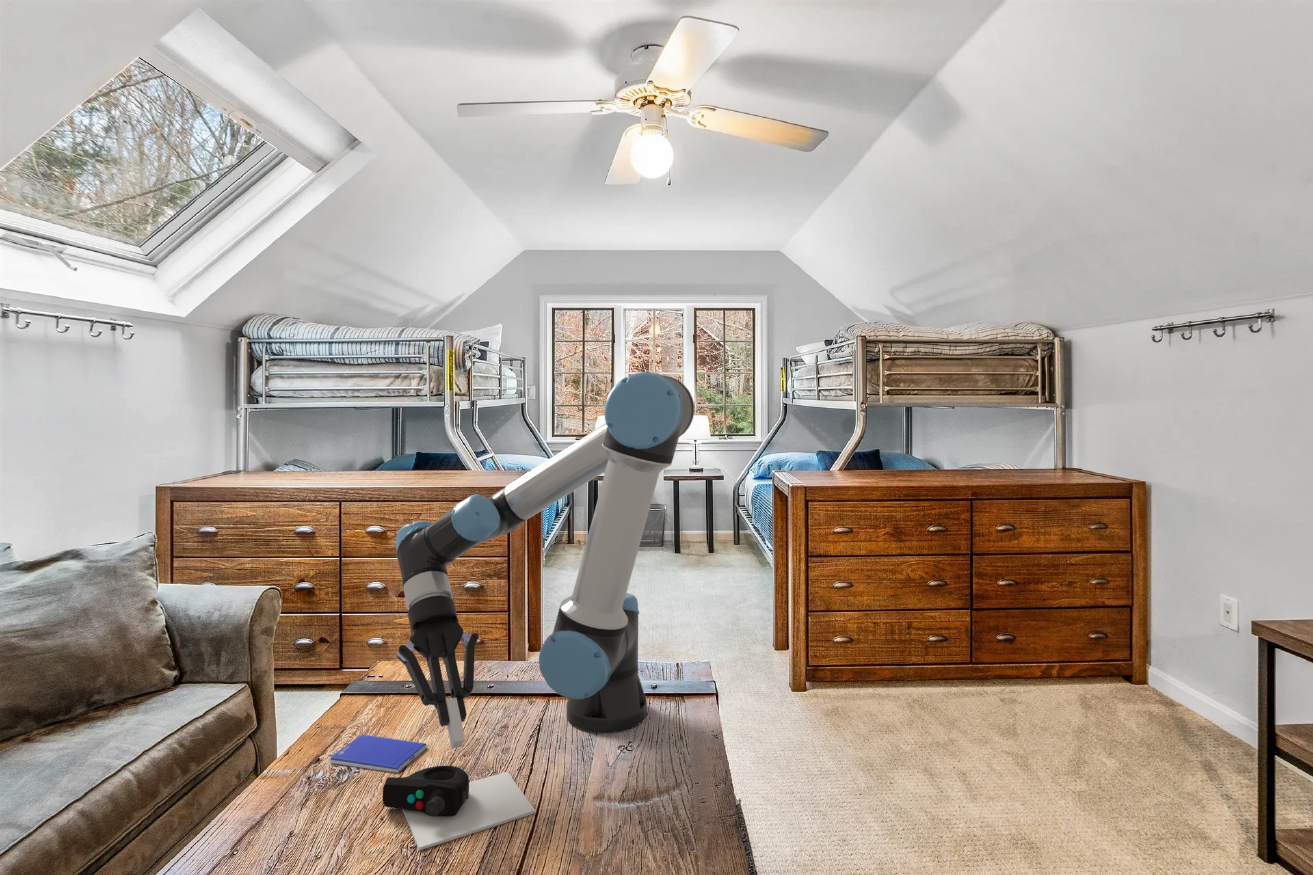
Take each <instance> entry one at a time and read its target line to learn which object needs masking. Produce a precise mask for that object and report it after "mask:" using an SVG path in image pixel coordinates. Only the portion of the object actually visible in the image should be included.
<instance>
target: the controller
mask: <svg viewBox="0 0 1313 875" xmlns="http://www.w3.org/2000/svg"><path fill="white" fill-rule="evenodd" d="M469 778H470V777H469V775H468V773H467V771H466V770H464V769H462V768H460V767H458V766H454V765H438V766H437V765H436V766H430V767H426V768H422V769H420V770H417V771H415V772H413V773H412V774H410V775H407V776H404V777H403V776H402V777H395V776H394V777H392V776H391V777H390V776H388V777H387V778H386V780H385V782H384V784H383V788H382V803H383V805H384V807H385V808H391V809H399V810H402V809H405V810H412V811H419V812H424V813H426V814H427V815H429V816H448V817H450V816H455V815H456V814H457V812H458V810H459V809H460V808H461V806H462V805H463V803H465V800H466V799H468V797H469V782H470V779H469Z"/></svg>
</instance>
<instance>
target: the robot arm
mask: <svg viewBox="0 0 1313 875" xmlns="http://www.w3.org/2000/svg"><path fill="white" fill-rule="evenodd" d="M693 398H694V397H693V396H692V393H691V392H690V391H689V389H688V387H686V385H685V384H683V383H682V382H681V381H679V380H678V379H676V378H675V377H671V376H667V375H662V374H660V373H658V372H651V371H643V372H642V371H640V372H637V373H634V374H630V375H628V376H626V377H624V378H622V379H621V380H619V381H618V382H617V383H616V384H615V385H614V386H613V387H612V389H611V390H610V392H609V393H608V395H607V398H606V399H605V400H606V401H605V404H604V411H603V412H604V414H603V415H604V422H605V423H603V424H602V425H600V426H599V427H597V428H596V429H594V430H592V431H591V432H590V433H588V434H586V435H585V436H583V437H582V438H580V439H579V440H576V442H573V443H572V444H571V445H569V446H567V447H566V448H565V449H563V450H562V451H560V452H558V453H557V454H555V455H554V456H552V457H551V458H548V459H547V460H546V461H544V462H543V463H541V464H539V465H538V466H536V467H535V468H533V469H531V470H530V471H529V472H526V473H525V474H523V475H522V476H521V477H519V478H518V479H516V480H514V481H513V482H511V483H510V484H508V485H507V486H505V487H504V488H502V489H500V490H499V491H497V492H495V493H494V494H492V495H491V496H489V497H486V496H482V495H480V494H472V495H469V497H467V498H465V499H464V500H461V501H459V502H457V503H455V504H456V505H455V506H453V507H452V508H451V509H450V510H448V511H447V512H446V513H443V515H442V516H440V517H439V518H437V519H436V520H434V522H431V521H428V520H417V521H413V523H409V524H408V523H407V524H405V525H404V526H402V527H401V528H400V529H399V530H398V532H397V534H396V536H395V548H396V553H395V554H396V559H397V561H398V566H399V571H400V574H401V576H400V577H401V580H402V587H403V593H404V600H405V605H406V606H405V607H406V609H407V616H408V622H409V628H410V638H409V640H408V642H407V643H406V644H402V645H400V646H399V647H398V651H397V653H396V658H397V659H398V660H399V661H400V662H401V663H402V664H403V665H404V666H405V668H406V670H407V671H408V672H407V673H408V675H409V676H410V678H411V681H412V683H413V686H414V688H415V689H416V692H417V693H418V694H417V695H418V696H419V698H420V700H421V703H422V704H423V706H430V705H431V706H434V708H435V709H436V710H437V717H438V720H439V721H438V722H439V725H440V726H441V727H445V726H446V727H447V731H448V737H449V743H450V746H451V747H450V748H451V749H457V748H460V747H463V744H464V742H465V741H466V738H465V733H464V728H463V723H464V722H465V720H466V718H467V715H468V714H467V709H466V705H465V701H464V699H465V698H469V697H470V696H471V693H472V691H473V689H474V684H475V682H474V680H475V653H476V652H475V648H476V644H477V642H478V639H479V634H478V633H476V632H474V633H472V634H470V633H467V632H465V631H464V628H463V627H462V626H461V624H460V623H459V619H458V615H457V610H456V605H455V602H454V599H453V598H454V595H453V592H452V588H451V583H450V579H449V574H448V568H447V566H448V565H449V564H450V563H452V562H454V561H455V560H456V559H458V558H459V557H461V556H462V555H463V554H465V553H466V552H468V551H469V550H471V549H472V548H474V547H476V546H478V545H480V544H483V543H485V542H488V541H490V540H493V539H495V538H497V537H500V536H503V535H507V534H509V533H511V532H513V531H515V530H516V529H517V528H518V527H520V526H521V524H523V523H524V522H526V521H527V520H529V519H530V518H533V517H534V516H535V515H537V514H539V513H540V512H542V511H543V510H545V509H547V508H549V507H550V506H551V505H553V504H555V503H556V502H558V501H560V500H561V499H563V498H564V497H566V496H568V495H570V494H572V493H573V492H575V491H576V490H578V489H579V488H581V487H583V486H584V485H585V484H587V483H589V482H591V481H592V480H594V479H595V478H597V477H599V476H601V475H602V474H604V475H603V478H602V482H601V486H600V491H599V494H598V498H597V501H596V505H595V509H594V512H593V516H592V520H591V523H590V527H589V531H588V534H587V537H586V538H587V539H586V543H585V546H584V549H583V550H584V551H583V554H582V558H581V562H580V564H579V568H578V572H577V576H576V580H575V583H574V587H573V591H572V594H571V595H570V596H568V597H566V598H565V599H563V600H562V601H561V603H560V605H559V609H558V611H557V616H556V620H555V623H554V627H553V631H552V633H551V634H550V635H549V636H547V638H546V639H545V640H544V641H543V643H542V646H541V649H540V650H539V655H538V667H539V672H540V675H541V677H543V679H544V680H545V682H546V685H547V686H548V687H549V688H550V689H551V690H552V691H554V693H557V694H558V695H560V696H562V697H564V698H567V701H566V719H567V722H568V723H569V724H571V726H573V727H575V728H577V729H579V730H582V731H586V732H588V733H589V732H590V733H596V734H597V733H598V734H599V733H600V734H602V733H603V734H604V733H605V734H607V733H608V734H609V733H610V734H611V733H619V732H623V731H627V729H628V730H630V729H631V730H632V729H633V728H632V727H634V728H635V726H636V725H638V724H639V723H641V722H642V721H643V720H644V719H645V718H646V719H647V717H646V716H648V700H647V697H646V694H645V691H644V688H643V685H642V681H641V679H640V678H641V677H640V676H639V614H640V610H639V602H638V601H639V600H638V598H637V597H636V596H635V595H634V594H632V593H628V592H627V591H628V589H629V588H628V587H629V585H630V580H631V577H632V574H633V571H634V566H635V562H636V559H637V555H638V552H639V548H640V544H641V541H642V537H643V534H644V530H645V526H646V523H647V520H648V516H649V511H650V509H651V505H652V501H653V499H654V498H653V497H654V494H655V491H656V487H657V482H658V479H659V476H660V473H661V472H662V471H663V470H665V469H667V468H669V467H670V466H672V464H673V460H674V457H675V452H676V448H677V446H678V442H679V438H681V436H683V435H684V434H685V433H686V432H687V431H688V430H689V428H690V426H691V424H692V423H693V420H694V416H695V403H694V399H693ZM460 641H461V642H462V647H463V648H464V649H465V650H464V655H463V656H464V657H463V658H464V659H463V678H462V679H463V681H461V678H460V673H459V667H458V664H457V663H458V662H457V658H456V649H457V647H458V645H459V643H460ZM415 651H416V652H417V653H418V654H419V655H420V656H422V657H423V658H424V659H425V660H426V665H427V667H428V672H429V678H430V683H431V686H430V684H429V682H428V680H427V677H426V676H425V673H424V672H423V669H422V667H421V664H420V663H419V661H418V659H417V657H416V655H415V653H416V652H415ZM440 658H441V659H442V661H443V665H444V668H445V672H446V678H447V681H448V686H449V691H450V695H451V696H450V697H451V698H448V699H446V698H447V693H446V689H445V684H444V679H443V674H442V673H443V672H442V669H441V664H440ZM462 682H463V683H462ZM646 719H645V720H646ZM645 720H644V721H645ZM644 721H643V722H644ZM462 722H463V723H462ZM643 722H642V723H643ZM642 723H641V724H642ZM639 725H640V724H639ZM639 725H638V726H639ZM636 727H637V726H636Z"/></svg>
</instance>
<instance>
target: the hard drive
mask: <svg viewBox="0 0 1313 875" xmlns="http://www.w3.org/2000/svg"><path fill="white" fill-rule="evenodd" d="M427 746H428V745H427V743H424V742H418V741H417V742H416V741H412V740H411V741H410V740H404V739H403V740H402V739H398V738H397V739H395V738H390V737H389V738H388V737H382V736H375V735H369V734H368V735H367V734H361V735H358V737H356V738H355V739H354V740H352V741H351V742H349V743H348V744H346V745H345V746H344V747H342V748H341V749H339V750H338V751H337V752H335V753H334V754H333V755H331V757H330V760H329V763H330V764H335V765H336V764H337V765H341V766H342V765H343V766H349V767H355V768H363V769H367V770H368V769H370V770H376V771H384V772H391V773H399V772H400V771H402V770H403V769H404V768H405V767H407V765H409V764H410V763H411V762H412V761H413V760H415V758H417V757H418V756H419V755H420V754H421V753H422V752H424V751H425V750H426V749H427V748H428V747H427Z"/></svg>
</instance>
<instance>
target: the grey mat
mask: <svg viewBox="0 0 1313 875" xmlns="http://www.w3.org/2000/svg"><path fill="white" fill-rule="evenodd" d="M401 810H402V812H403V815H404V817H405V820H406V822H407V824H408V827H409V829H410V832H411V834H412V836H413V840H414V842H415V844H416V847H417V849H418V851H422V850H424V849H425V850H426V849H428V848H432V847H435V846H438V845H441V844H444V843H447V842H450V841H453V840H456V839H459V838H463V837H466V836H468V835H472V834H475V833H478V832H481V831H485V830H488V829H491V828H494V827H497V826H499V825H503V824H506V823H509V822H512V821H515V820H519V819H521V818H524V817H527V816H531V815H533V814H534V815H535V814H536V809H535V808H534V806H533V805H532V804H531V802H530V801H529V799H528V798H527V797H526V795H525V794H524V793H523V791H522V789H520V787H519V786H518V783H516V782H515V780H514V779H513V778H512V776H511V775H510V773H509V772H508V771H505V772H501V773H498V774H494V775H491V776H488V777H485V778H481V779H476V780H473V781H469V797H468V799H466V800H465V803H463V805H462V806H461V808H460V809H459V810H458V812H457V814H456V815H455V816H450V817H448V816H429V815H427V814H426V813H424V812H419V811H412V810H405V809H401Z"/></svg>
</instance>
